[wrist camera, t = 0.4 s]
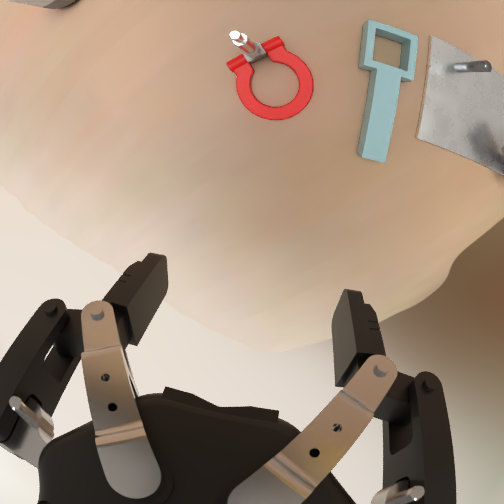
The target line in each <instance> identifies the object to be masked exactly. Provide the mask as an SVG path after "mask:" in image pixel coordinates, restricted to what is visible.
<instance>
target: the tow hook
mask: <svg viewBox="0 0 504 504" xmlns="http://www.w3.org/2000/svg"><path fill="white" fill-rule="evenodd" d="M229 36H230V38H231V39H232V41H233V43H234V44H235V45H236V46H238V47H239V48H240V49H242V50H241V52H242V53H243V54H241V55H239V56H238V57H236V58H234V59H232V60H230V61H229V62H227V66H228V67H229V69H230V70H231V71H232V72H235V74H236V75H237V80H236V86H237V92H238V95H239V98H240V100H241V101H242V103H243V104H244V106H245V107H246V108H247V109H248V110H249V111H251V112H252V113H253V114H255V115H257V116H259V117H261V118H266V119H270V120H282V119H286V118H290V117H292V116H294V115H296V114H298V113H299V112H300V111H301V110H302V109H304V108H305V107H306V105H307V104H308V102H309V100H310V99H311V95H312V92H313V79H312V76H311V72H310V70H309V69H308V67H307V66H306V64H305V63H304V62H303V61H302V60H301V59H300V58H299V57H297V56H296V55H294V54H292V53H290V52H287V51H286V49H285V48H284V43H283V42H282V40H281V39H280V37H279V36H277V37H275V38H273V39H271V40H269V41H267V42H265V43H263V44H261V45H260V43H259V42H256V43H253V42H252V41H251V40H250V39H249V38H248V37H247V36H246V35H245V34H243V33H240V32H239V31H237V30H234V31H232V32H231V33H230V35H229ZM267 54H268V56H269V57H270V59H271V60H272V61H273V62H279V63H283V64H285V65H287V66H289V67H290V68H292V69H293V70H294V71H295V73H296V74H297V76H298V79H299V91H298V94H297V95H296V97H295V99H293V100H292V101H291V102H290V103H288V104H286V105H284V106H280V107H271V106H267V105H264V104H263V103H261V102H259V101H258V100H257V99H256V98H255V96H254V95H253V93H252V90H251V84H250V82H251V77H252V75H253V73H254V69H253V68H252V66H251V65H250V63H253V62H255V61H257V60H259V59H261V58H262V57H264V56H266V55H267Z"/></svg>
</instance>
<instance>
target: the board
mask: <svg viewBox="0 0 504 504" xmlns="http://www.w3.org/2000/svg"><path fill="white" fill-rule="evenodd" d="M471 61H480V60H478V59H476V58H475V57H473V56H471V55H469V54H468V53H466V52H464V51H462V50H460V49H459V48H457V47H455V46H453V45H451V44H449V43H447V42H445V41H443V40H441V39H439V38H436V37H434V36H429V50H428V61H427V70H426V78H425V86H424V93H423V99H422V105H421V111H420V116H419V122H418V127H417V132H416V136H415V138H418V139H420V140H423V141H426V142H429V143H432V144H434V145H437V146H439V147H442V148H445V149H447V150H450V151H452V152H454V153H457V154H459V155H461V156H464V157H466V158H468V159H471V160H473V161H475V162H477V163H479V164H481V165H483V166H486V167H488V168H490V169H492V170H494V171H496V172H498V173H499V174H501V175H503V176H504V174H503V171H502V168H501V165H500V163H501V162H502V161H503V160H504V156H503V153H502V150H501V148H502V147H503V146H504V76H503V75H501V74H500V73H498V72H497V71H495V70H494V69H492V70H491V72H466V73H458V72H457V71H456V70H455V68H454V65H455V63H461V62H471Z"/></svg>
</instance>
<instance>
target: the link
mask: <svg viewBox="0 0 504 504" xmlns="http://www.w3.org/2000/svg"><path fill="white" fill-rule="evenodd" d="M375 35H378V36H381V37H385V38H388V39H391V40H394V41H396V42H399V43H402V52H401V61H400V69H399V68H396V67H393V66H390V65H387V64H384V63H381V62H377V61H374V60H372V59H373V51H374V42H375ZM417 44H418V36H416V35H414V34H411V33H408V32H406V31H403V30H400V29H398V28H395V27H392V26H389V25H386V24H383V23H380V22H376V21H373V20H370V19H369V20H368V21H367V22H366V23H365V24H364V25H363V32H362V41H361V50H360V58H359V66H358V68H362V69H366V70H369V71H371V73H370V80H369V87H368V93H367V99H366V106H365V111H364V117H363V123H362V128H361V133H360V138H359V144H358V148H357V153H358V154H359V155H360V156H361V157H363V158H367V159H371V160H375V161H379V162H383V163H385V161H386V157H387V152H388V148H389V143H390V139H391V134H392V129H393V124H394V119H395V113H396V108H397V102H398V96H399V89H400V82H401V81H404V82H407V81H413V80H414V73H415V64H416V55H417Z"/></svg>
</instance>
